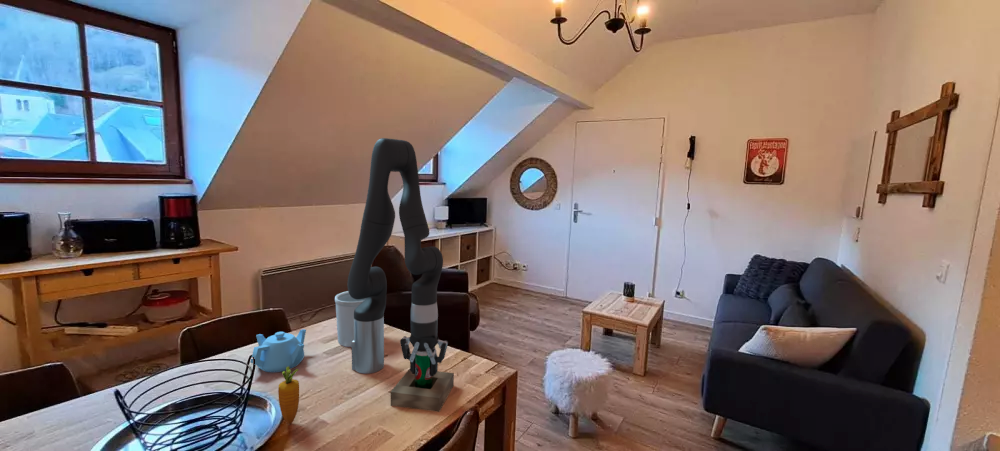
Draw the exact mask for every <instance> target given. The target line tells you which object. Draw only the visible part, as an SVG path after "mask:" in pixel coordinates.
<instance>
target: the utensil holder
mask: <svg viewBox="0 0 1000 451" xmlns="http://www.w3.org/2000/svg"><path fill="white" fill-rule="evenodd" d="M364 300H365V298H364V299H354V298H352V297H351V296H350V294H349V292H348V290H346V291H343V292H340V293H337V294H336V295H335V296H334V302H335V313H336V314H335V315H336V316H335V317H336V331H337V333H336V334H337V343H338V344H339V345H340V346H342V347H347V348H352V341H353V340H354V310H355V308H356V307H357V306H359V305H360V304H361V303H362V302H363V301H364Z"/></svg>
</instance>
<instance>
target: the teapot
mask: <svg viewBox="0 0 1000 451" xmlns="http://www.w3.org/2000/svg"><path fill="white" fill-rule="evenodd" d="M306 333H307V329H304V328H302V329H299V332H298V334H297V335H296V336H295V335H294V334H292V333H289V332H288V333H287V332H285V331H277V332H275V333H274V334H273V335H269V336H268V337H267V338H266V337H265V336H264V334H261V333H259V334H256V336H255V337H256V339H257V340H256V341H257V345H258V346H253V349H252V350H253V351H252V355H251V357H254V359H255V364H254V365H255V366H257V368H259V369H260V370H261V371H263V372H265V373H280V372H281V373H282V372H283V371H285V372H286V367H288V366H289V367H290V370H292V369H293V368H296V367H297V366H298V365H300V363H301V362H302V361H303V359H304V357H305V350H304V349H305V343H304V342H305V338H306ZM250 363H251V364H253V359H251V358H250Z"/></svg>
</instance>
